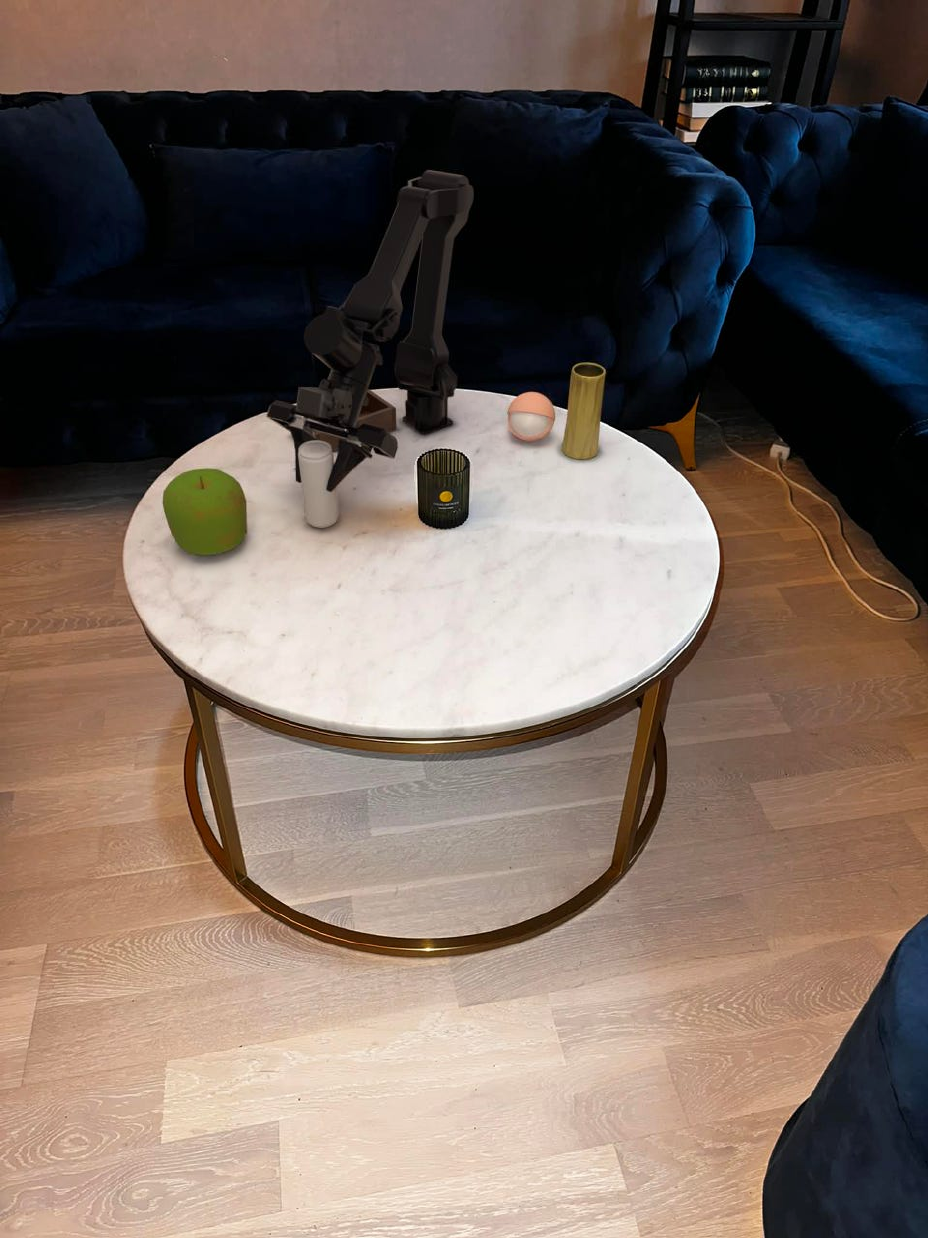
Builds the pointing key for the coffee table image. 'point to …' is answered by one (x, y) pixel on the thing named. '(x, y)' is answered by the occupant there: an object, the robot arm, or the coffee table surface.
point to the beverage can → (317, 483)
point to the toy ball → (531, 416)
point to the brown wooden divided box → (367, 418)
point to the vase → (584, 411)
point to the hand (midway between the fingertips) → (313, 486)
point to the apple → (206, 511)
